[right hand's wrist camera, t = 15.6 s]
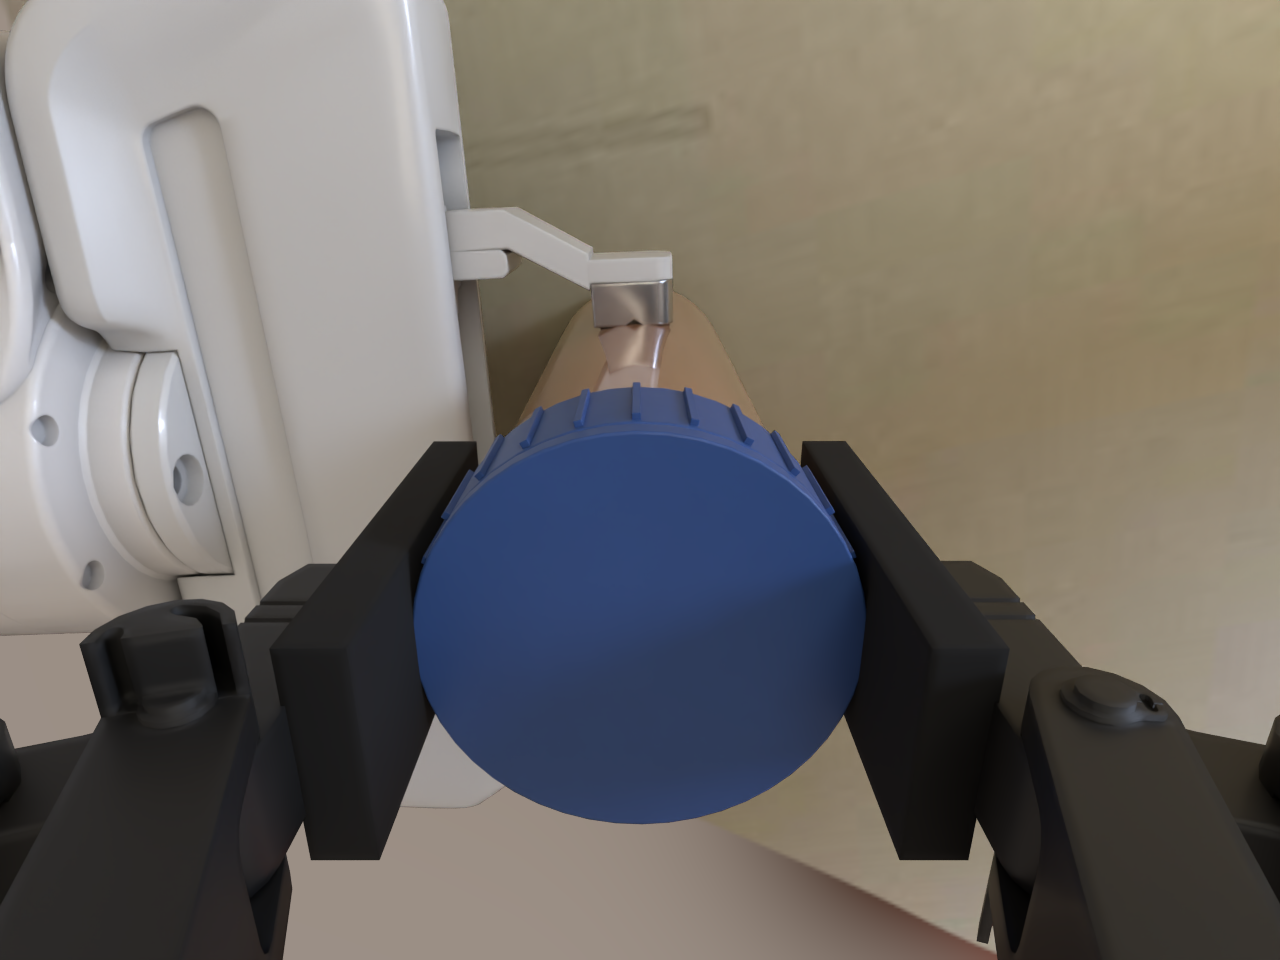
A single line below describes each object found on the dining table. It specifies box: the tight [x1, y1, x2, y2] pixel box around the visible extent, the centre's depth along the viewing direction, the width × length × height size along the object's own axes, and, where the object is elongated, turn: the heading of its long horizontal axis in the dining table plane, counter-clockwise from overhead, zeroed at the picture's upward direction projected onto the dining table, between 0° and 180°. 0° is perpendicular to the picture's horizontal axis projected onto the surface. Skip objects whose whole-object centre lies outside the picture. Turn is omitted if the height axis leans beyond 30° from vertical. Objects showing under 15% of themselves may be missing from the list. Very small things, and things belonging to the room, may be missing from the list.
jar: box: [514, 291, 765, 429], centre depth 18 cm, size 5×5×15 cm
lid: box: [413, 382, 866, 824], centre depth 11 cm, size 6×6×2 cm
